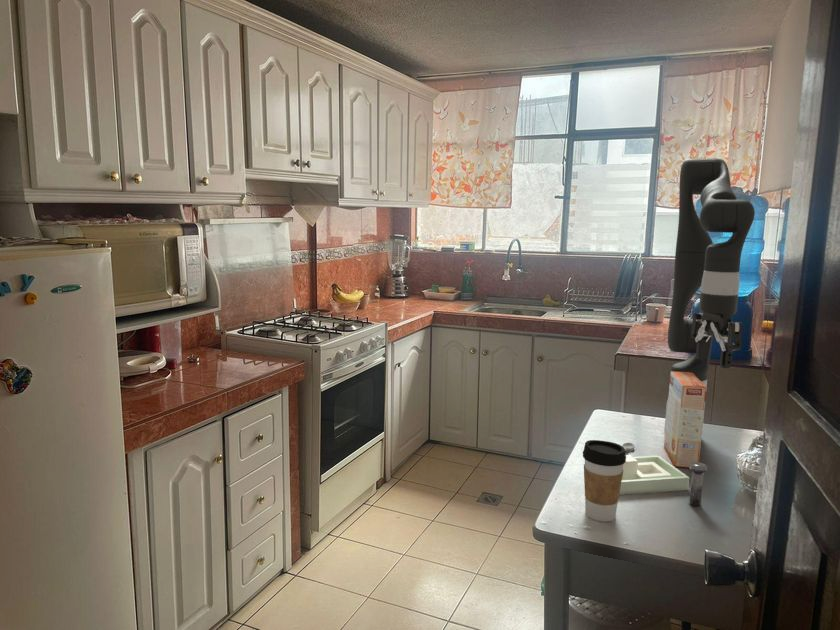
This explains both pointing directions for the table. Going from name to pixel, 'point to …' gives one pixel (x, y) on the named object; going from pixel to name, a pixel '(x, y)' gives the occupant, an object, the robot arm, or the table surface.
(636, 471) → the cream stepped holder
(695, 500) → the grey bolt
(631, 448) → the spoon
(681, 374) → the cracker box
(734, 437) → the table surface
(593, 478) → the coffee cup
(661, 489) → the tray
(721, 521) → the table surface
